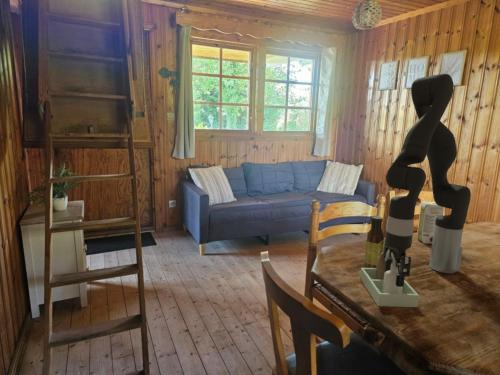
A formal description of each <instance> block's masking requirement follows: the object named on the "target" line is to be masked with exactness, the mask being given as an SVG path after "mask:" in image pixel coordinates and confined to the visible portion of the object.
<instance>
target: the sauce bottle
mask: <svg viewBox="0 0 500 375" xmlns="http://www.w3.org/2000/svg"><path fill="white" fill-rule="evenodd" d="M383 221H384V219H383V217H381V216H378V215H374V216H371V221H370V222H371V226H370V229H369V230H368V232H367V236H366V244H365V256H364V266H365V268H376V267H377V257H378V256H380V253H381V252H383V251H384V244H385V237H384V233H383V230H382V227H383V226H382V225H383Z"/></svg>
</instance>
